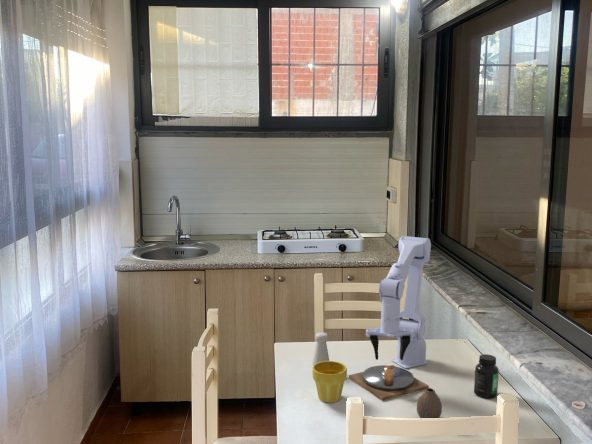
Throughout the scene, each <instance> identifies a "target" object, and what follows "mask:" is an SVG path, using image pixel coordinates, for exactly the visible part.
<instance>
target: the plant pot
mask: <svg viewBox="0 0 592 444" xmlns="http://www.w3.org/2000/svg"><path fill="white" fill-rule="evenodd" d="M347 378H348V368H347V365H346V364H344V363H342V362H340V361H335V360H329V361H322V362H318V363H316V364H315V365H314V366H313V365H312V379H313V381H314V382H315V386H316V392H317V397H318V399H319V400H320V401H321V402H324V403H329V404H330V403H331V404H332V403H335V402H336V403H337V402H339V401H340V400H341V398H342V394H343V390H344V389H343V388H344V385H345V381H346V380H347Z"/></svg>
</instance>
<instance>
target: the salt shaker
mask: <svg viewBox="0 0 592 444" xmlns="http://www.w3.org/2000/svg"><path fill="white" fill-rule="evenodd" d="M314 338H315V341H316V345H315V350H314V354H313V355H314V356H313V360H312V367H313V366H314V365H315V364H316V363H318V362H322V361H330V358H329V357H330V356H329V349H328V345H327V344H328V343H327V342H328V340H329V334H328V333H326V332H322V331H320V332H317V333H316V334H315V336H314Z"/></svg>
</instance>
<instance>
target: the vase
mask: <svg viewBox="0 0 592 444" xmlns="http://www.w3.org/2000/svg"><path fill="white" fill-rule="evenodd" d="M442 412H443V405H442V401H441V399H440V397H439V395H438V394H437V393H436V391H435V389H434V388H431V387H429V388H427V389H425V390H424V392H422V394H421V395H420V396H419V397H418V399H417V402H416V413H417V415H418V417H419V419H421V418H439V419H440V417H441V416H442Z"/></svg>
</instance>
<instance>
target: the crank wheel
mask: <svg viewBox="0 0 592 444" xmlns="http://www.w3.org/2000/svg"><path fill="white" fill-rule="evenodd" d="M395 366H396V365H394V366H391V365H386V364H384V365H383V364H382V365H381V364H380V365H374V366H370V367H367V368H366V369H365V370H364V371H362V372H363V380H364V382H365V383H367V384H368V385H370V386H372V387H375V388H378V389H383V390H402V389H406V388H408V387H410V386H411V385H412V384H413V382H414V374H413V373H412V372H411V371H409V370H407V369H406V368H404V367H401V366H400V367H399V366H396V367H395Z"/></svg>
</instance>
